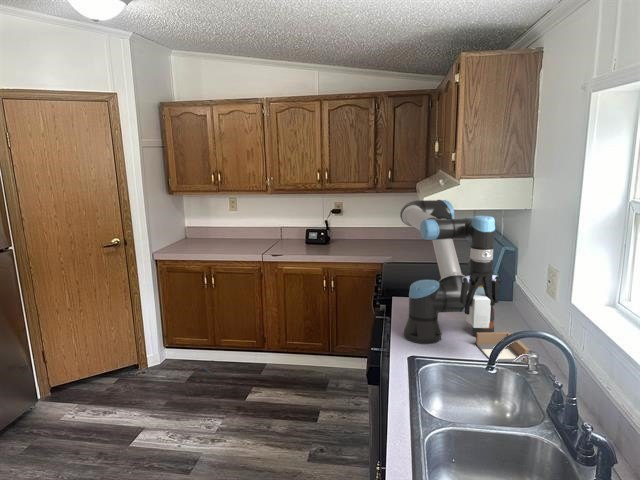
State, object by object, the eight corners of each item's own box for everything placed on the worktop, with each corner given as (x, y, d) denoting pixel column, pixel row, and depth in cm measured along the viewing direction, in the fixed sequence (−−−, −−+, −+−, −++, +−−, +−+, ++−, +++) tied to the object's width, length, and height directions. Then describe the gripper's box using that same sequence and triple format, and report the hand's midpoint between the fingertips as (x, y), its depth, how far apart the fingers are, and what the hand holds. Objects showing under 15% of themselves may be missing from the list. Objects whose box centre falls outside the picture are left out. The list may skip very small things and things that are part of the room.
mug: (494, 330, 182) (496, 304, 180) (493, 340, 172) (495, 313, 170) (473, 327, 186) (474, 301, 184) (471, 337, 175) (472, 310, 173)
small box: (489, 328, 150) (491, 299, 149) (473, 328, 151) (474, 299, 149) (482, 320, 158) (483, 293, 156) (466, 320, 159) (468, 293, 157)
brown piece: (492, 363, 153) (493, 350, 152) (475, 344, 168) (476, 332, 167) (528, 362, 153) (529, 349, 152) (508, 343, 168) (509, 332, 168)
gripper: (460, 263, 146) (457, 327, 150) (512, 261, 148) (508, 324, 152) (450, 258, 153) (448, 319, 157) (501, 256, 155) (497, 316, 159)
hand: (477, 321), depth 154 cm, fingers closed on small box, 6 cm apart
